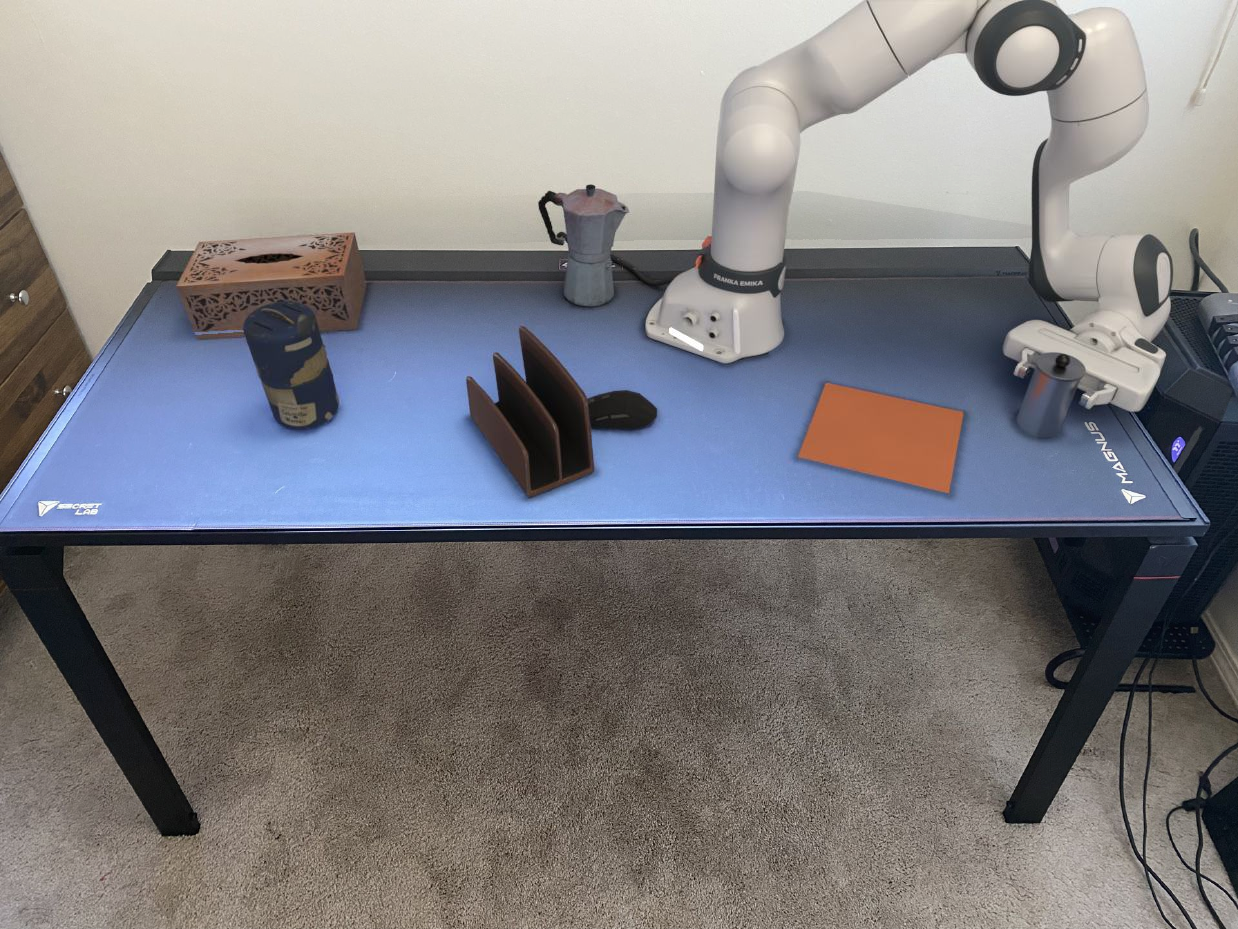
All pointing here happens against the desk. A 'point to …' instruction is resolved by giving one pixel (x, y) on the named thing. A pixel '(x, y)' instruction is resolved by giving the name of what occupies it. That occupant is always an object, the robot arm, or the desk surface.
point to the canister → (292, 364)
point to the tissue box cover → (273, 281)
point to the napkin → (884, 436)
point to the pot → (1050, 394)
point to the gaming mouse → (620, 410)
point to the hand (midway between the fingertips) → (1051, 387)
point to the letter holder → (535, 419)
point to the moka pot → (587, 241)
